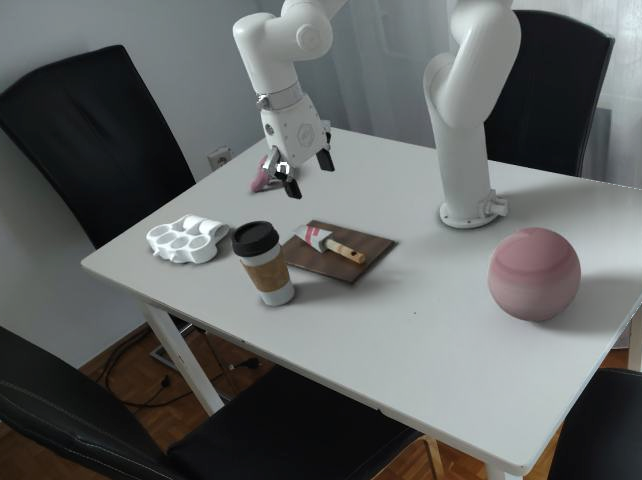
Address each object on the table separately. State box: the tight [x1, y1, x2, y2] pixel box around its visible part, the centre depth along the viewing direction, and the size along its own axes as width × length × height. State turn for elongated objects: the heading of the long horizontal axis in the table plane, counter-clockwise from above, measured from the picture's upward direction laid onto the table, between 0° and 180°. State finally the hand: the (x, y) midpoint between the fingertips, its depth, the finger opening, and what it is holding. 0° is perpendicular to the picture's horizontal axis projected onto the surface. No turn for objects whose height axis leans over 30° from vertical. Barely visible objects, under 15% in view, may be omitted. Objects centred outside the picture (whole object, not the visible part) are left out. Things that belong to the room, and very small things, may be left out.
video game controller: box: [249, 154, 273, 193], centre depth 153 cm, size 10×5×7 cm, turn 179°
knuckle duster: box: [146, 214, 230, 265], centre depth 138 cm, size 3×18×15 cm
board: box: [281, 219, 395, 286], centre depth 129 cm, size 22×14×1 cm, turn 57°
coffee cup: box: [230, 220, 295, 307], centre depth 116 cm, size 8×8×15 cm
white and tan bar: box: [291, 224, 366, 264], centre depth 128 cm, size 4×3×20 cm
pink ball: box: [486, 226, 582, 322], centre depth 103 cm, size 15×15×15 cm
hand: (312, 183), depth 119 cm, fingers open, 9 cm apart
